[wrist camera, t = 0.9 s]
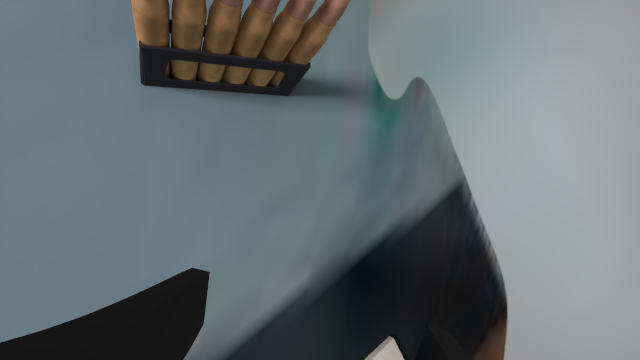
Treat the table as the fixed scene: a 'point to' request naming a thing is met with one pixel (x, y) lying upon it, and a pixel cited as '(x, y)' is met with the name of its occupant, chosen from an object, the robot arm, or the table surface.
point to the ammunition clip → (231, 43)
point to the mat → (386, 351)
